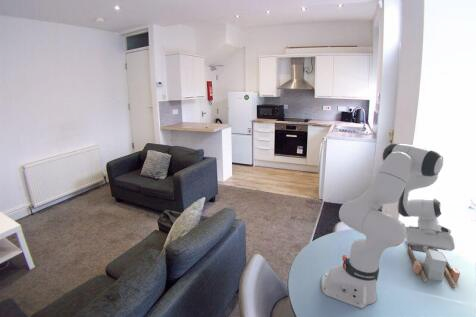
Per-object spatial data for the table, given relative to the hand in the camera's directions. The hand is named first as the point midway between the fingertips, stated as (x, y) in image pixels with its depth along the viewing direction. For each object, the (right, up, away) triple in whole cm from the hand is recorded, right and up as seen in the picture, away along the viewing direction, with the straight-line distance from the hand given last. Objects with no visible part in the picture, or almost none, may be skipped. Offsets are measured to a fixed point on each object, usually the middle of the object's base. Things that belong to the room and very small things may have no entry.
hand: (430, 256), depth 134 cm
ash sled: (-3, -7, -7) cm, 10 cm away
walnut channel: (+1, -4, +3) cm, 5 cm away
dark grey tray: (+5, 0, +14) cm, 15 cm away
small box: (-3, -7, -5) cm, 9 cm away
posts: (-2, -7, -6) cm, 10 cm away
